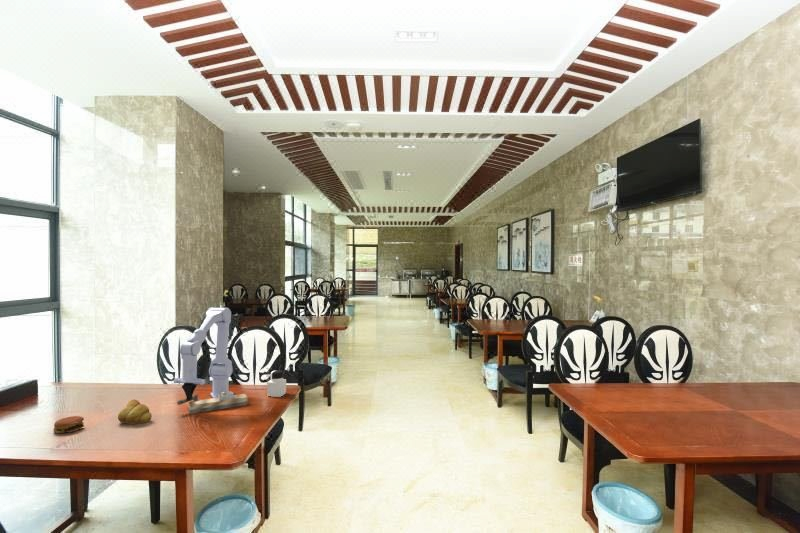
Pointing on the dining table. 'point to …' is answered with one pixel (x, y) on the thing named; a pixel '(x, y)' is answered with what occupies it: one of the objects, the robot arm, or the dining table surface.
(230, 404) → the plane body
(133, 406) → the bread roll
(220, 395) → the lever cap
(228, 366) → the robot arm
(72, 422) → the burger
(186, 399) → the lever
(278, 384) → the grey padlock
